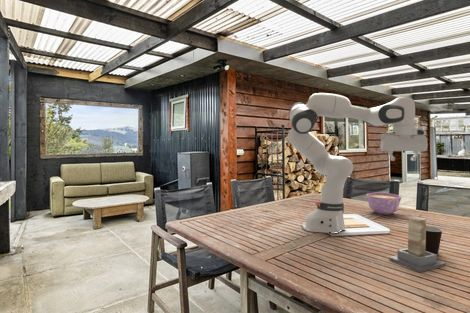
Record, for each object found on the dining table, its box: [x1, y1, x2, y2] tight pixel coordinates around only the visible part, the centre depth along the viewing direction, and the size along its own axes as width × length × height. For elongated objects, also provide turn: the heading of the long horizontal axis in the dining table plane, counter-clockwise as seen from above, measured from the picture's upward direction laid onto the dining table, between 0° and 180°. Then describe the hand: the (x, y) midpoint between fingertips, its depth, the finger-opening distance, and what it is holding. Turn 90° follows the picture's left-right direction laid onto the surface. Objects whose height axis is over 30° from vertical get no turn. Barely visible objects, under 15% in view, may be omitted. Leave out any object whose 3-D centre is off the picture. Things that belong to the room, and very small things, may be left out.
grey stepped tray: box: [388, 247, 446, 273], centre depth 107 cm, size 14×12×4 cm
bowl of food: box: [366, 192, 402, 216], centre depth 183 cm, size 20×20×12 cm
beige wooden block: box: [407, 216, 427, 257], centre depth 107 cm, size 4×4×16 cm
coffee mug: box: [425, 225, 443, 256], centre depth 118 cm, size 12×9×10 cm
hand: (402, 160), depth 135 cm, fingers open, 8 cm apart
